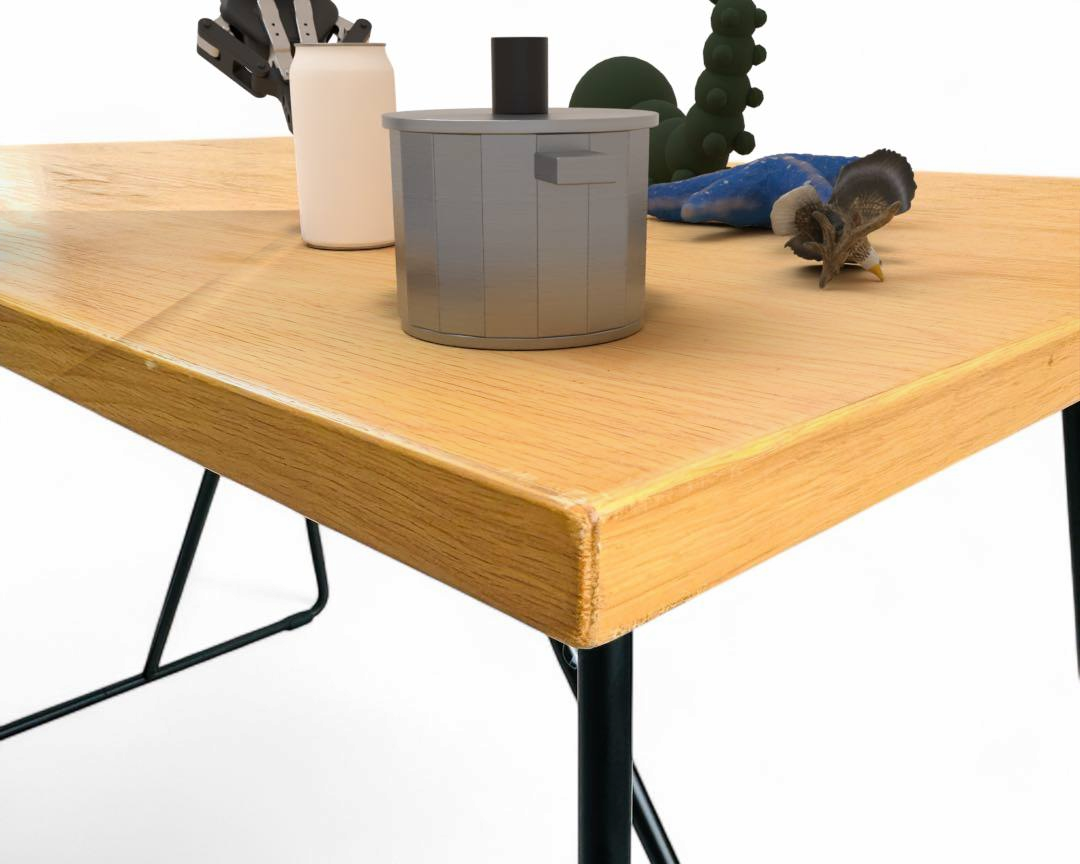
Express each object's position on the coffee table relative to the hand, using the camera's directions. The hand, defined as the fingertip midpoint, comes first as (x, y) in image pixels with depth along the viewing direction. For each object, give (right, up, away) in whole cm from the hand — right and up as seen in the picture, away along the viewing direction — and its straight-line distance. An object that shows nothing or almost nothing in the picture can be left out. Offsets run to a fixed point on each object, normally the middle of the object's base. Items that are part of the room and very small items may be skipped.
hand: (314, 134), depth 83 cm
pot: (+15, -18, -28) cm, 36 cm away
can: (+3, -9, -5) cm, 10 cm away
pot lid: (+15, -10, -31) cm, 36 cm away
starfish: (+31, -6, +2) cm, 31 cm away
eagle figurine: (+32, -14, -17) cm, 39 cm away
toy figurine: (+25, +1, +20) cm, 32 cm away
